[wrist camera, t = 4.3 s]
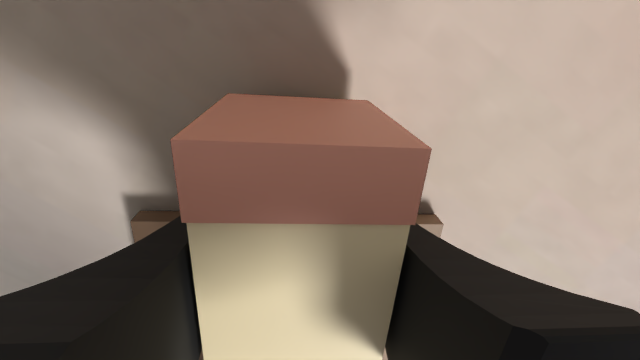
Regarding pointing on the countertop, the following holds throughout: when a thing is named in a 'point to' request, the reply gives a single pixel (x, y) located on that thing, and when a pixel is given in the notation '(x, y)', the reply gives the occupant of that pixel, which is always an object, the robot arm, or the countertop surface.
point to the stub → (296, 224)
